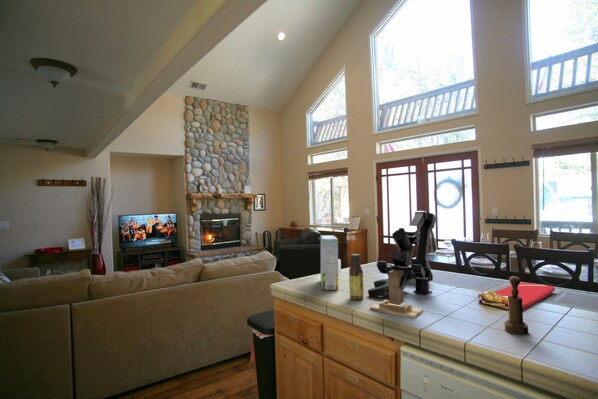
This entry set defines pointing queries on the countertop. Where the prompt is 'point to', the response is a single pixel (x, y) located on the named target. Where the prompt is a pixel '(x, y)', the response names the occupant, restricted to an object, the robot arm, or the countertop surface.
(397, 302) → the walnut board piece
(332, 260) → the snack box
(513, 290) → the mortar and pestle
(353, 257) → the sauce bottle
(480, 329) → the countertop surface
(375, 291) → the teal curved piece
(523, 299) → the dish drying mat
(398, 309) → the oak base board
